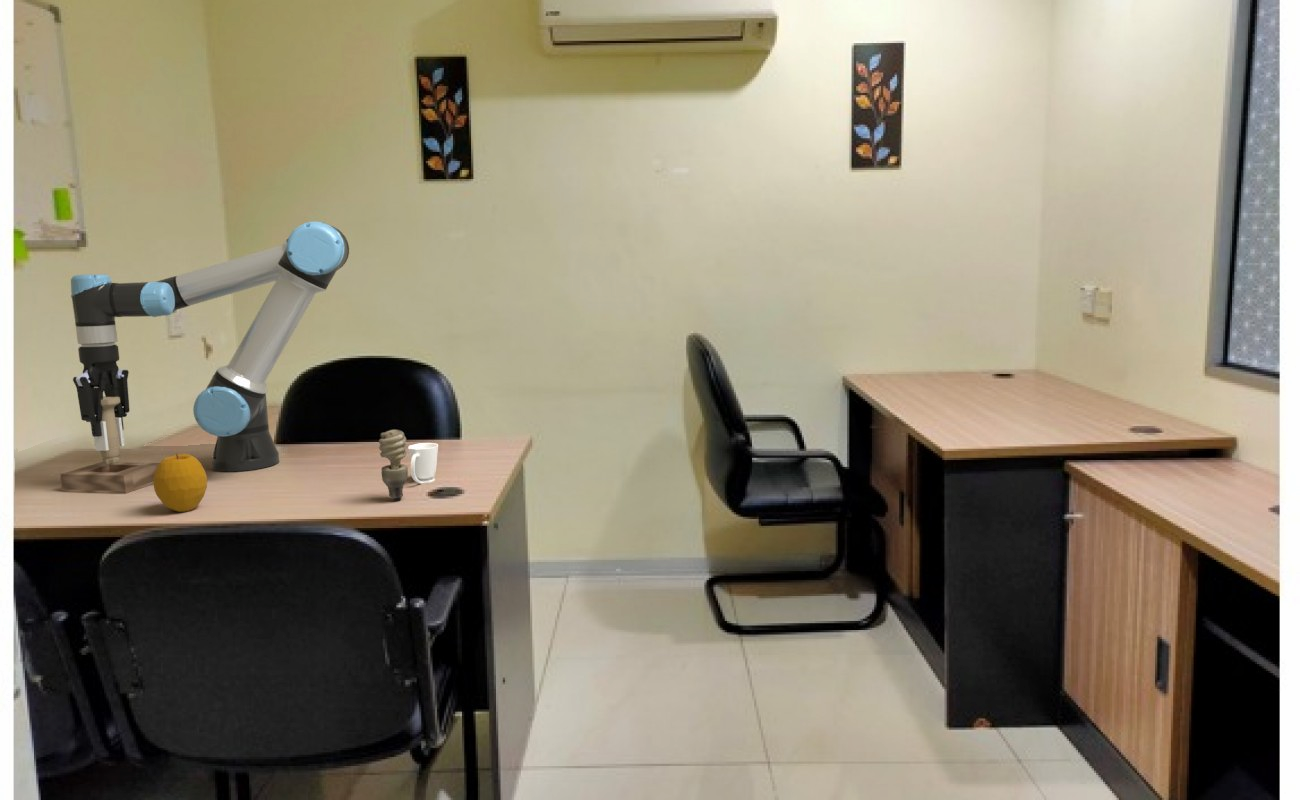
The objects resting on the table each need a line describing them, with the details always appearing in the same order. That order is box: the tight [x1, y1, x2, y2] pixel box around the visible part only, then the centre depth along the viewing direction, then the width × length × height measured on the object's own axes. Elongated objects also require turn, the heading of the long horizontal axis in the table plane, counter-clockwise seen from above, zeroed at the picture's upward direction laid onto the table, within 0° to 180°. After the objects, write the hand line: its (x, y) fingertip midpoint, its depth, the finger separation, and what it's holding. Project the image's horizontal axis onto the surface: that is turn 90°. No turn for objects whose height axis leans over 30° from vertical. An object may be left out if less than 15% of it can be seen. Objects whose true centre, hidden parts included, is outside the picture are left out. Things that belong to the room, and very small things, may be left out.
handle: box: [100, 396, 121, 465], centre depth 196 cm, size 5×6×15 cm
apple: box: [152, 453, 208, 513], centre depth 177 cm, size 10×10×12 cm
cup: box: [407, 442, 439, 485], centre depth 195 cm, size 7×10×8 cm
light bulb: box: [378, 429, 409, 501], centre depth 180 cm, size 6×6×15 cm
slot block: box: [59, 461, 160, 494], centre depth 198 cm, size 16×12×4 cm
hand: (110, 447), depth 197 cm, fingers closed on handle, 4 cm apart
